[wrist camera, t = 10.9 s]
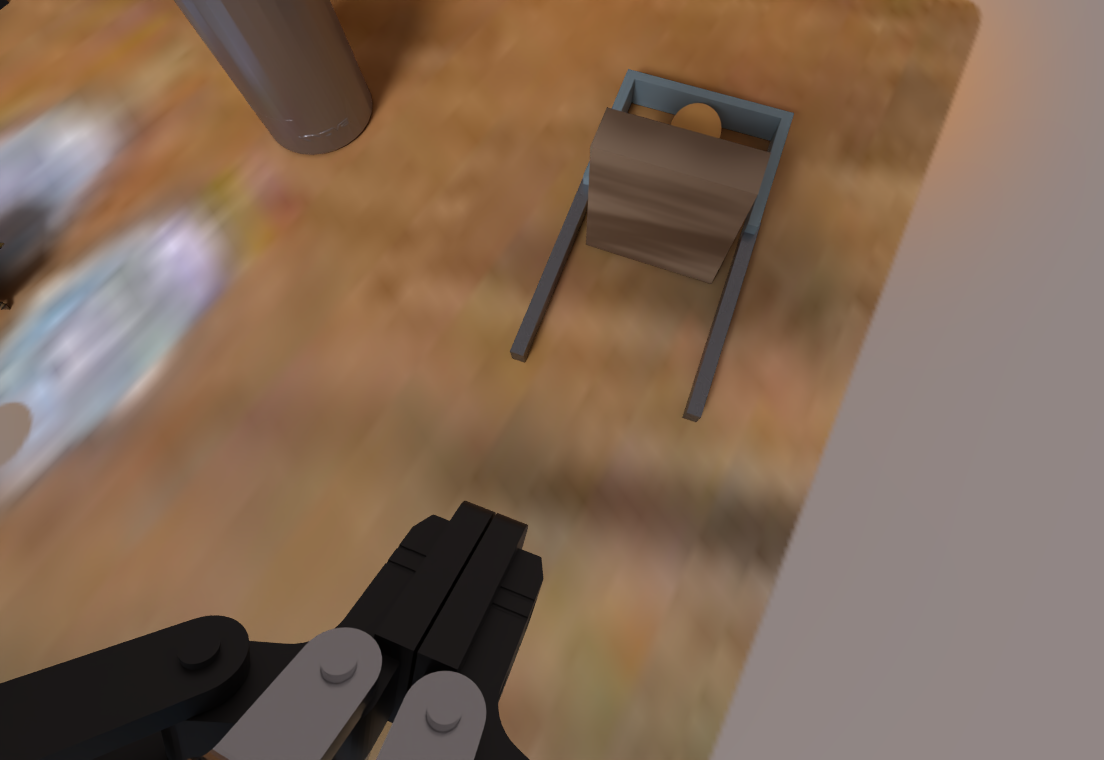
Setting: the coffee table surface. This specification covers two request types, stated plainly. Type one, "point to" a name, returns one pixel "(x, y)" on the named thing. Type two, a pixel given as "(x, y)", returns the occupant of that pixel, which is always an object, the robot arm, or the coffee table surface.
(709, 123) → the ball
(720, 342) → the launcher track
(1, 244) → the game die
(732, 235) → the board
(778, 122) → the blue-grey rectangular frame
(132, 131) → the coffee table surface
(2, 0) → the portable cd player
